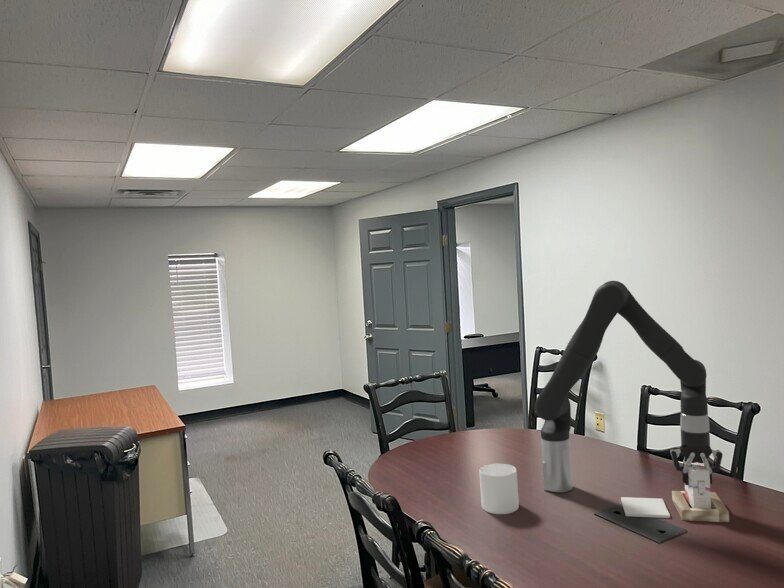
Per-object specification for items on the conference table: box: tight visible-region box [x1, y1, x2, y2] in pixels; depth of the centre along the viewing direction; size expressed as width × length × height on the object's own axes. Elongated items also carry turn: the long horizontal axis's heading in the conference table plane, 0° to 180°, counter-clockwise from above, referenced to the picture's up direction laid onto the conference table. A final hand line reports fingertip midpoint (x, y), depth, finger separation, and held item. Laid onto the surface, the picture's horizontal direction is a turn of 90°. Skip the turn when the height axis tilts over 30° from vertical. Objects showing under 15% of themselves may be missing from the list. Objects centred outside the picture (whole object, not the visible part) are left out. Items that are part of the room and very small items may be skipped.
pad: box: [620, 496, 671, 519], centre depth 171 cm, size 12×12×1 cm
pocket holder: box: [671, 490, 730, 523], centre depth 167 cm, size 12×14×3 cm
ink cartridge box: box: [684, 458, 711, 509], centre depth 167 cm, size 9×5×15 cm, turn 168°
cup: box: [478, 462, 520, 515], centre depth 180 cm, size 12×12×12 cm
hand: (697, 484), depth 167 cm, fingers closed on ink cartridge box, 5 cm apart
